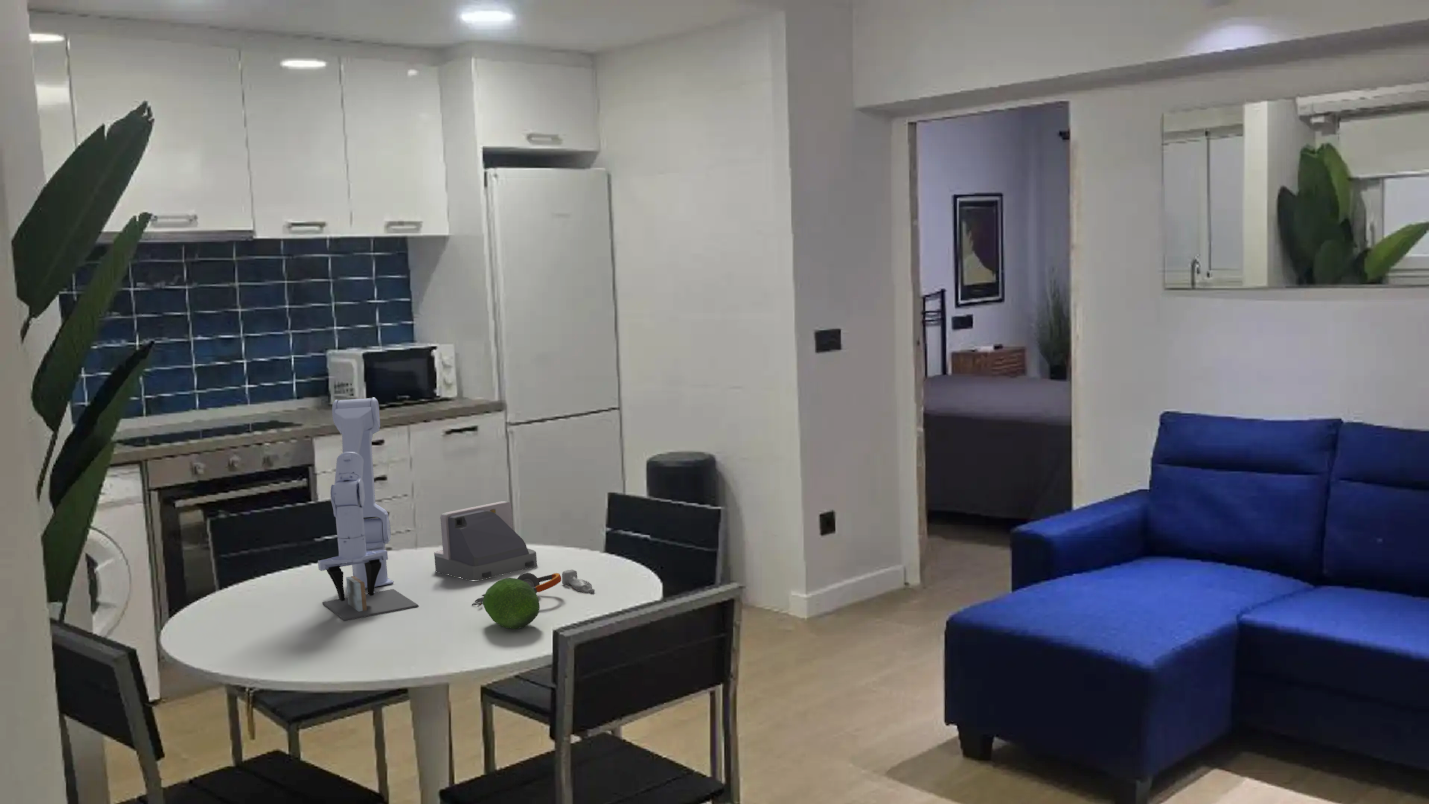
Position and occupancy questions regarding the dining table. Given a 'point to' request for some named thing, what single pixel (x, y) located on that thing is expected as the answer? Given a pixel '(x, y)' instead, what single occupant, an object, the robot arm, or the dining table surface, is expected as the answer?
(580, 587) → the figurine
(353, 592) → the tile
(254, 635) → the dining table surface
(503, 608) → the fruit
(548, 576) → the headphones
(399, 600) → the mat
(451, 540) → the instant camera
